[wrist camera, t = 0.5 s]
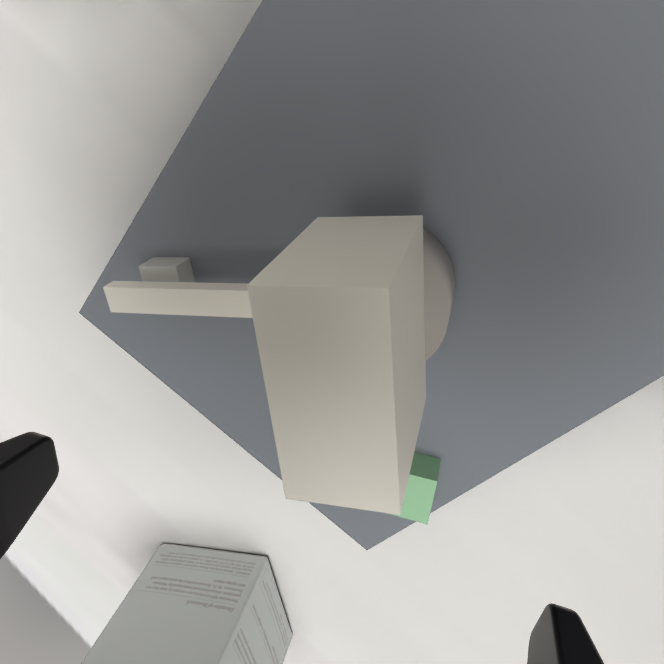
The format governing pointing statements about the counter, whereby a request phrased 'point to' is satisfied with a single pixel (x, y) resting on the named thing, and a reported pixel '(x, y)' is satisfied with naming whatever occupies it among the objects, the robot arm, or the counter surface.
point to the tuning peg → (335, 349)
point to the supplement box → (197, 612)
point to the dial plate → (427, 213)
